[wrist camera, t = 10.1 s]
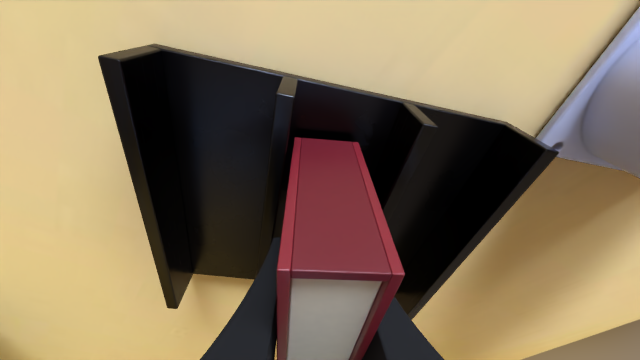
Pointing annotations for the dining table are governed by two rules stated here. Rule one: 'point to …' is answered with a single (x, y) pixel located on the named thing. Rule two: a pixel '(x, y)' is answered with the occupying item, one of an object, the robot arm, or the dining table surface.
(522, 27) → the dining table surface
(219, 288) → the dining table surface
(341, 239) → the book
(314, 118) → the rack
